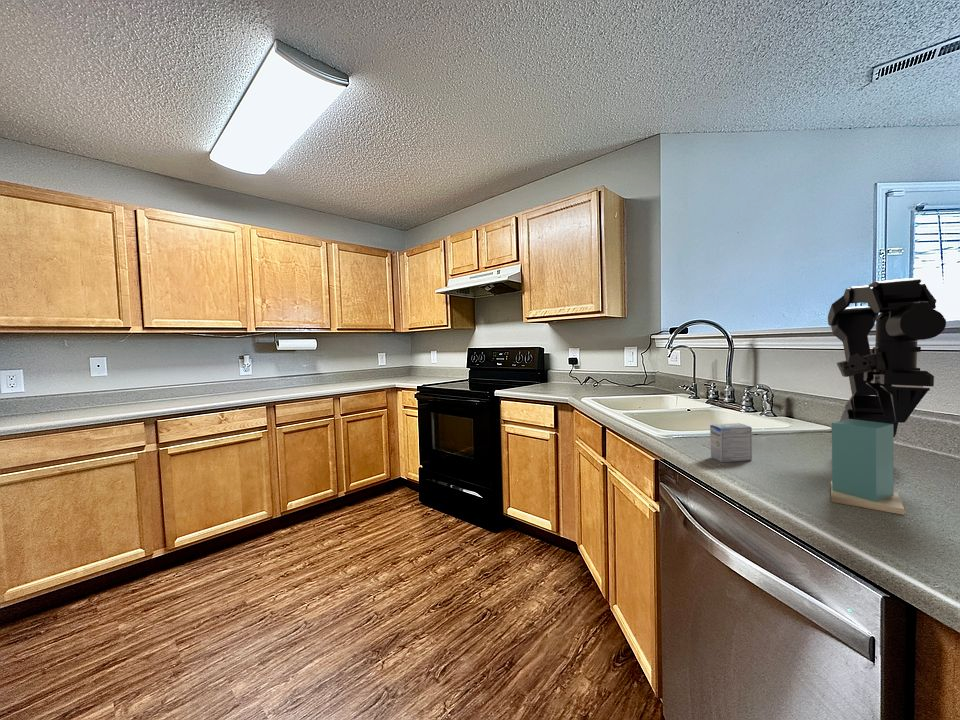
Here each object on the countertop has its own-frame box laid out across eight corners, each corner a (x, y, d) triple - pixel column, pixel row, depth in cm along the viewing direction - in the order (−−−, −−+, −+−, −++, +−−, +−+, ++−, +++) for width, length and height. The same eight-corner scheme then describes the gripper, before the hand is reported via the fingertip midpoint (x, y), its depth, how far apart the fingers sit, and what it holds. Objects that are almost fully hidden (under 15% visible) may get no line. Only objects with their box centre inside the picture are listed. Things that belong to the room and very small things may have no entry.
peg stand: (830, 485, 77) (830, 463, 77) (896, 495, 71) (896, 471, 71) (831, 501, 70) (831, 477, 70) (904, 514, 64) (904, 488, 64)
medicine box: (740, 455, 99) (739, 422, 98) (752, 461, 94) (752, 426, 94) (710, 457, 98) (709, 424, 98) (721, 462, 94) (720, 428, 94)
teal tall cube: (849, 484, 75) (849, 418, 74) (893, 495, 69) (893, 424, 69) (832, 490, 72) (831, 422, 72) (876, 502, 67) (875, 428, 66)
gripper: (834, 343, 89) (832, 410, 89) (849, 340, 74) (846, 420, 74) (904, 343, 82) (902, 415, 82) (936, 339, 67) (933, 428, 67)
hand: (893, 419), depth 77 cm, fingers open, 9 cm apart
